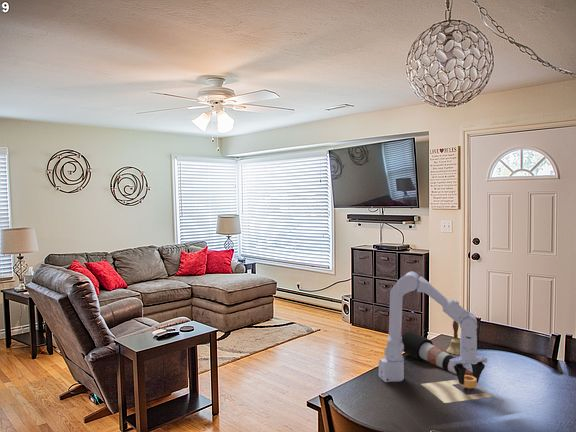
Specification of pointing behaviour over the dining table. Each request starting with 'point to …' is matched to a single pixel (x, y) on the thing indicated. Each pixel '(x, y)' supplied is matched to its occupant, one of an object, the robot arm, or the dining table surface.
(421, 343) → the cable
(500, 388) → the dining table surface
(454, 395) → the cream flat rectangular board
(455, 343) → the hand bell
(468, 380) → the orange hexagonal nut
